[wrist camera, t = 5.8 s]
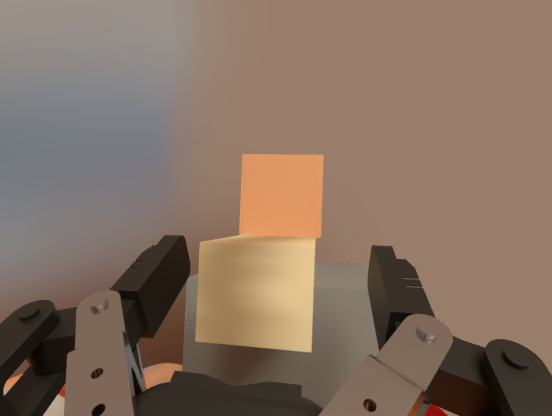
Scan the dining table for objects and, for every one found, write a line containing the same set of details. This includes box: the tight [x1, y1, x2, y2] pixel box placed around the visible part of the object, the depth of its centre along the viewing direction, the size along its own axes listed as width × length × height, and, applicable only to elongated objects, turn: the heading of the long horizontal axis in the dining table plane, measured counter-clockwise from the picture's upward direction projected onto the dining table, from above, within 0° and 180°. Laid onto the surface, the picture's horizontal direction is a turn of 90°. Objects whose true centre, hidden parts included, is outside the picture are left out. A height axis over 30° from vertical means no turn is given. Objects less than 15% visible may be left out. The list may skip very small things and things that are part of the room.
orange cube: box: [239, 154, 323, 238], centre depth 17 cm, size 4×4×4 cm
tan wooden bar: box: [195, 235, 316, 352], centre depth 21 cm, size 4×24×3 cm, turn 172°
